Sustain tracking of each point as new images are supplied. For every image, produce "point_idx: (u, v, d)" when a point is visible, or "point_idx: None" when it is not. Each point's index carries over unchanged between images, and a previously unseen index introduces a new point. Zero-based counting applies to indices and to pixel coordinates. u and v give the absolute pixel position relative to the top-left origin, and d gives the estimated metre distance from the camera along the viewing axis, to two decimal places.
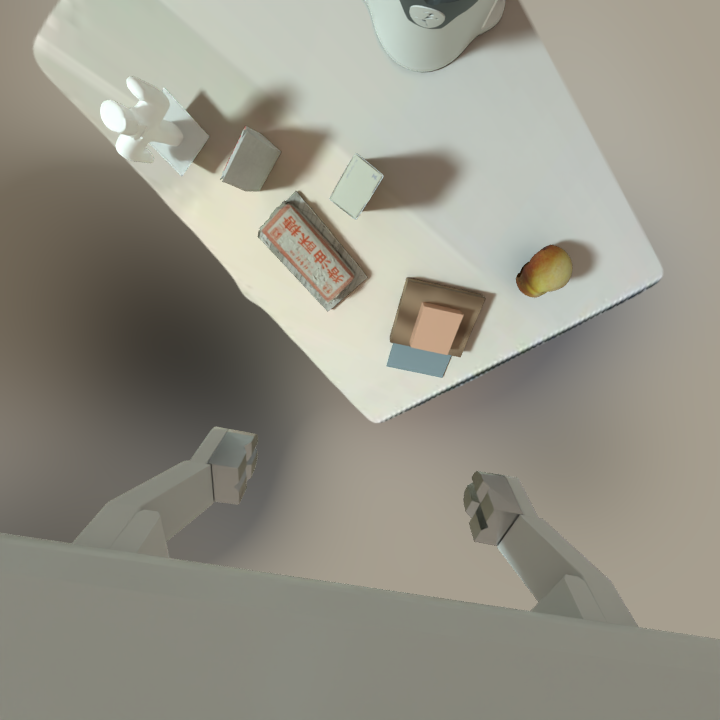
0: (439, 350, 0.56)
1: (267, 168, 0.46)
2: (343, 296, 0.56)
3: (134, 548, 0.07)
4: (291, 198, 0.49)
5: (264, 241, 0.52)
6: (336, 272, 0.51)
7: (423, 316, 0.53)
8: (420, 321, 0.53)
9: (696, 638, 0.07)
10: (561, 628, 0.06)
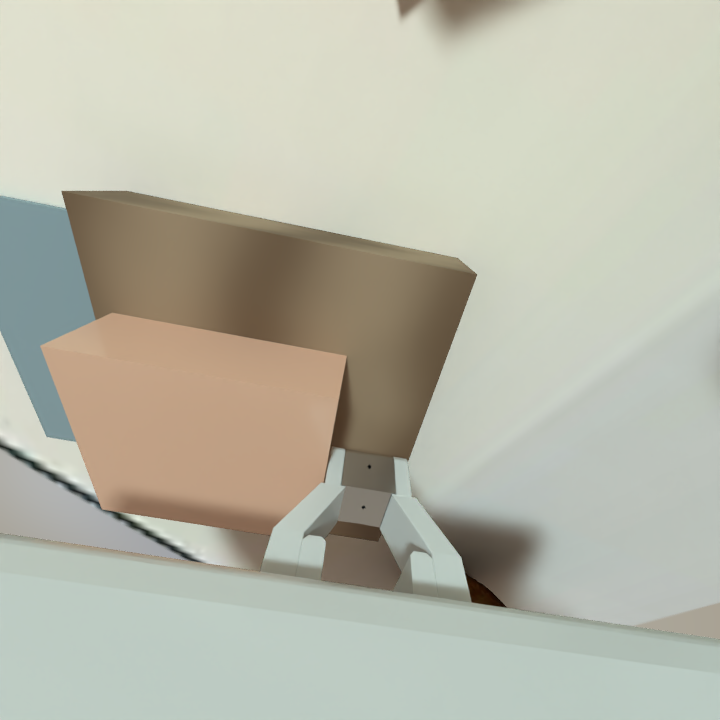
0: (108, 480, 0.11)
1: None
2: None
3: (317, 575, 0.07)
4: None
5: None
6: None
7: (273, 401, 0.09)
8: (239, 388, 0.08)
9: (696, 638, 0.07)
10: (561, 628, 0.06)
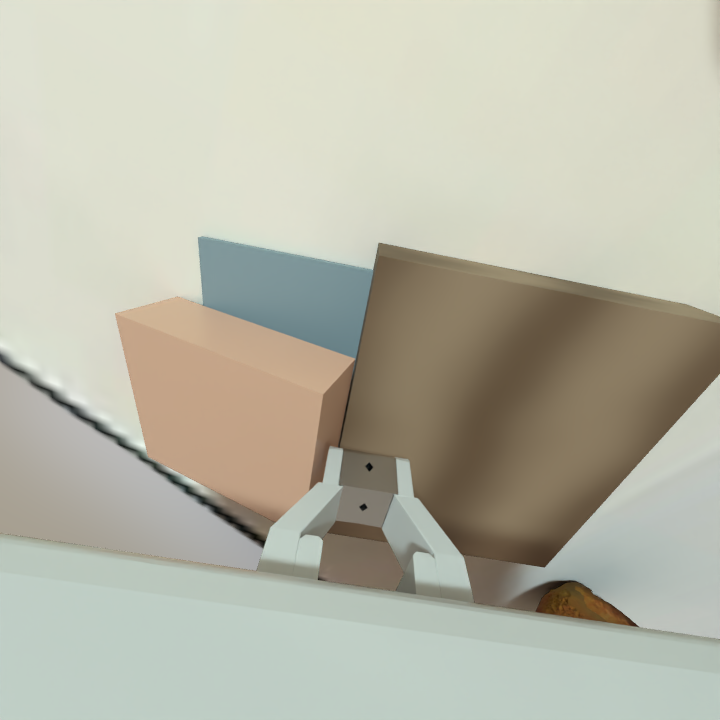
0: (152, 433, 0.13)
1: None
2: None
3: (314, 575, 0.07)
4: None
5: None
6: None
7: (268, 387, 0.09)
8: (242, 370, 0.09)
9: (696, 638, 0.07)
10: (561, 628, 0.06)
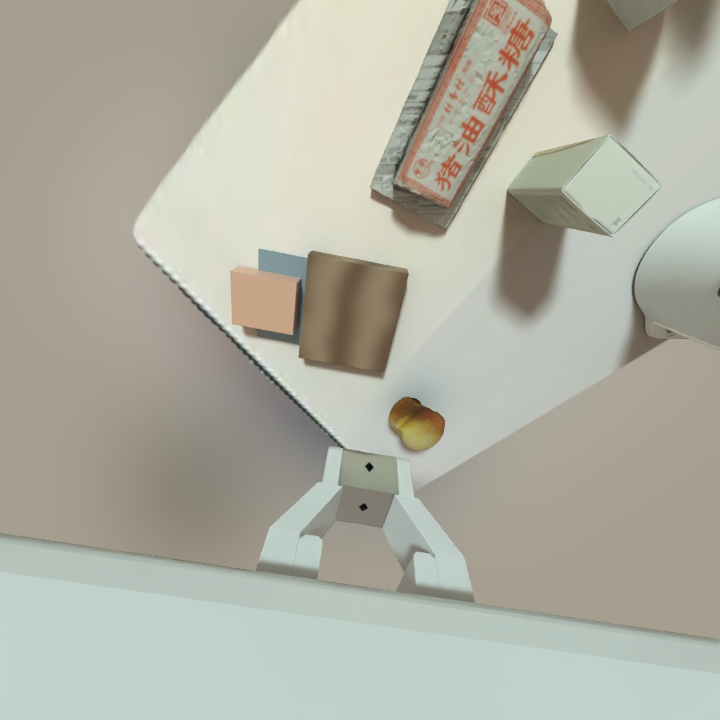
0: (236, 312, 0.39)
1: None
2: (404, 203, 0.34)
3: (314, 575, 0.07)
4: None
5: None
6: (452, 173, 0.30)
7: (281, 284, 0.37)
8: (274, 281, 0.37)
9: (696, 638, 0.07)
10: (561, 628, 0.06)
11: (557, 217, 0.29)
